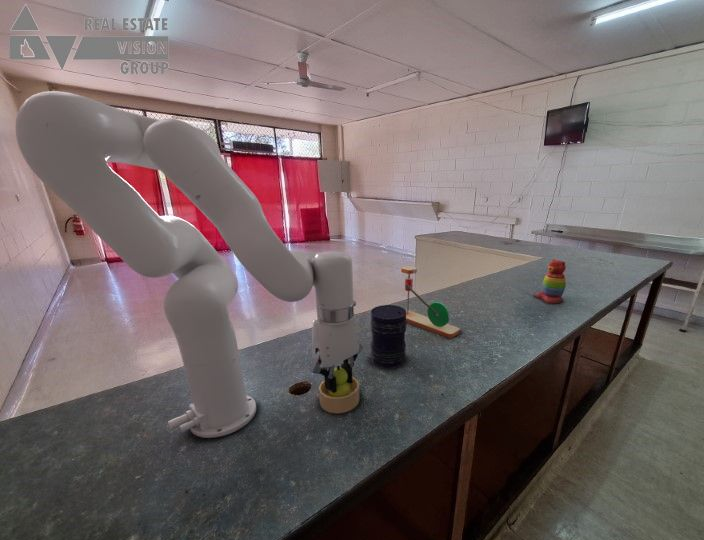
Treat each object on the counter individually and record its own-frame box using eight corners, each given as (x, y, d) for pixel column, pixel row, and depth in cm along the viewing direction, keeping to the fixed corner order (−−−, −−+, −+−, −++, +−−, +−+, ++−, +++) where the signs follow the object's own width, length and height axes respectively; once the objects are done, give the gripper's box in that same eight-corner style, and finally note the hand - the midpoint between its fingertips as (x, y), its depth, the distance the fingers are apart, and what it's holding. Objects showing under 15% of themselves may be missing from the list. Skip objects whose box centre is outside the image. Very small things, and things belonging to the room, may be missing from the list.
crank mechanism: (394, 317, 119) (395, 267, 112) (405, 312, 124) (407, 264, 117) (450, 338, 104) (455, 282, 97) (461, 332, 109) (466, 278, 102)
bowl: (337, 419, 68) (336, 404, 66) (312, 401, 73) (310, 386, 72) (367, 399, 74) (367, 385, 73) (342, 383, 80) (341, 370, 78)
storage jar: (367, 366, 87) (366, 317, 82) (374, 349, 96) (374, 303, 91) (402, 370, 86) (404, 320, 81) (407, 352, 95) (408, 306, 90)
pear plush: (338, 408, 70) (336, 374, 67) (325, 398, 73) (322, 366, 70) (354, 398, 74) (353, 365, 71) (341, 389, 77) (339, 357, 73)
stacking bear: (532, 295, 146) (539, 258, 140) (550, 294, 149) (558, 257, 143) (549, 304, 137) (558, 264, 130) (568, 302, 139) (577, 262, 133)
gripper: (353, 297, 74) (355, 364, 80) (289, 318, 62) (297, 395, 68) (376, 305, 69) (376, 376, 76) (312, 330, 57) (318, 411, 64)
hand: (339, 384), depth 72 cm, fingers closed on pear plush, 4 cm apart
